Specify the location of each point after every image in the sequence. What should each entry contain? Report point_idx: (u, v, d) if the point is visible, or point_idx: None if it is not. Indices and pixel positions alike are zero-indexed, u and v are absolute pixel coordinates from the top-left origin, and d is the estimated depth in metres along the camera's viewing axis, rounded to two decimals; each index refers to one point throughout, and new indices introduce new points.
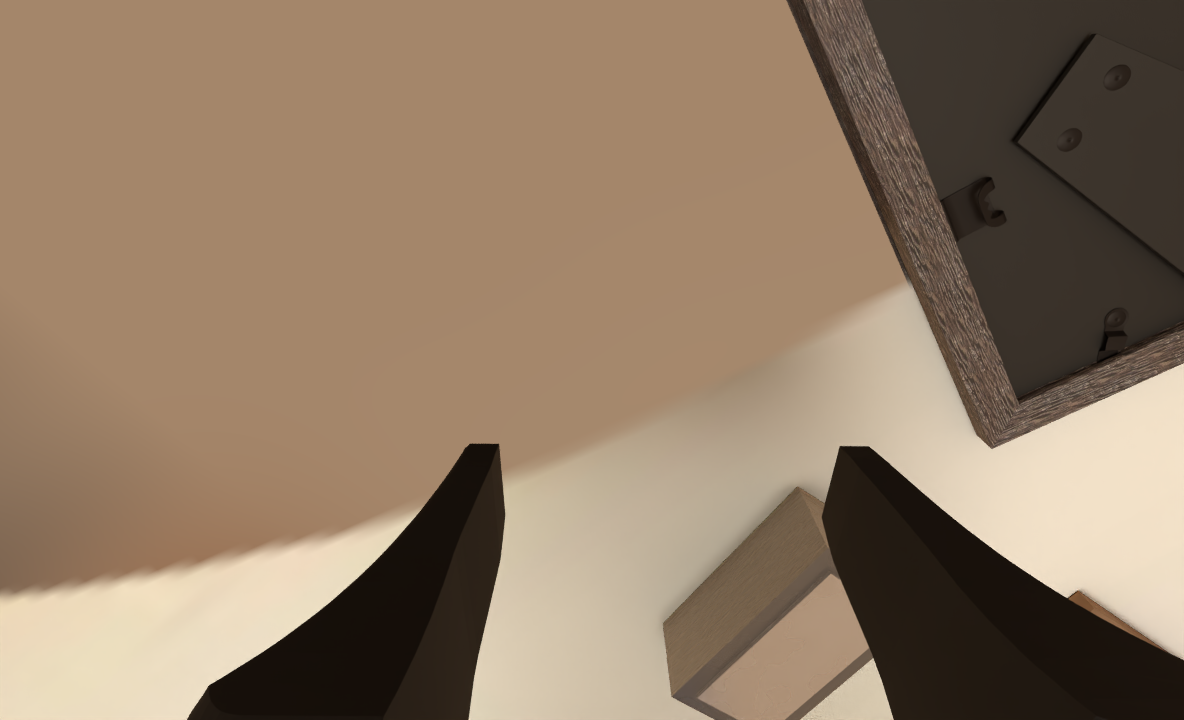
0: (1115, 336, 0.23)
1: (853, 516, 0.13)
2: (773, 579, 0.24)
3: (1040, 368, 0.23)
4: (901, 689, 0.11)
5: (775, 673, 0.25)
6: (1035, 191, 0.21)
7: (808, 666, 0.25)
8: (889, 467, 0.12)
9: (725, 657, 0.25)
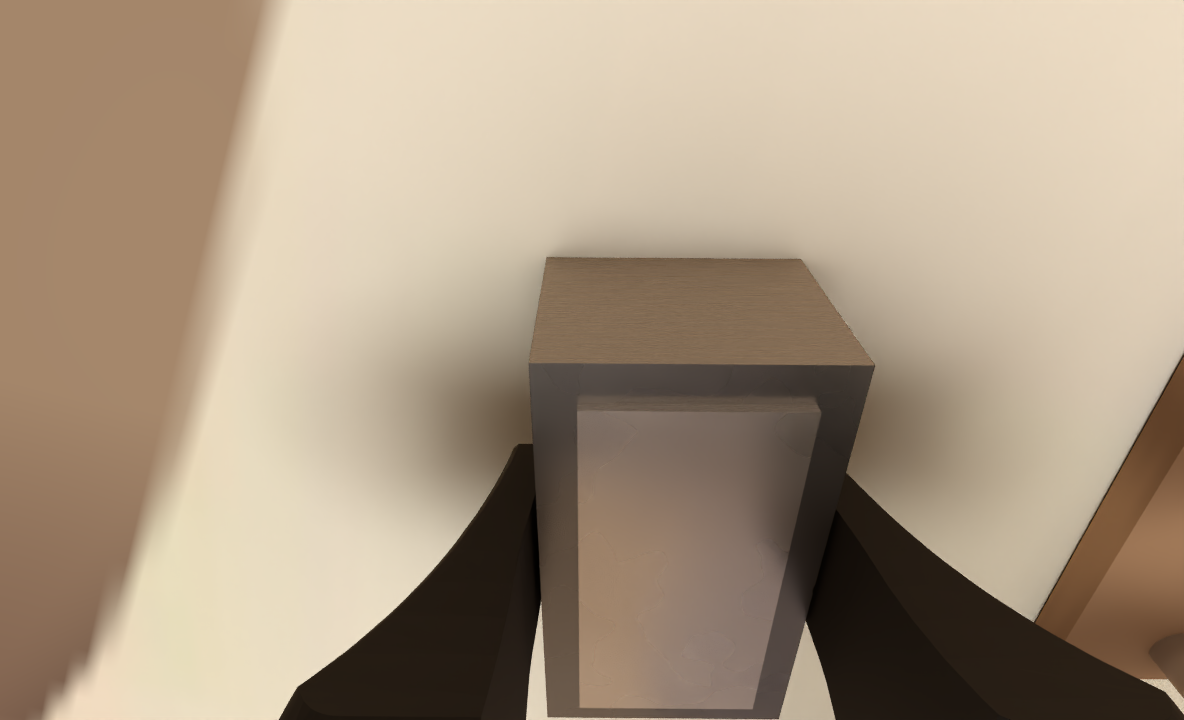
0: None
1: None
2: None
3: None
4: (841, 689, 0.11)
5: (665, 622, 0.12)
6: None
7: (714, 586, 0.12)
8: None
9: (563, 632, 0.13)
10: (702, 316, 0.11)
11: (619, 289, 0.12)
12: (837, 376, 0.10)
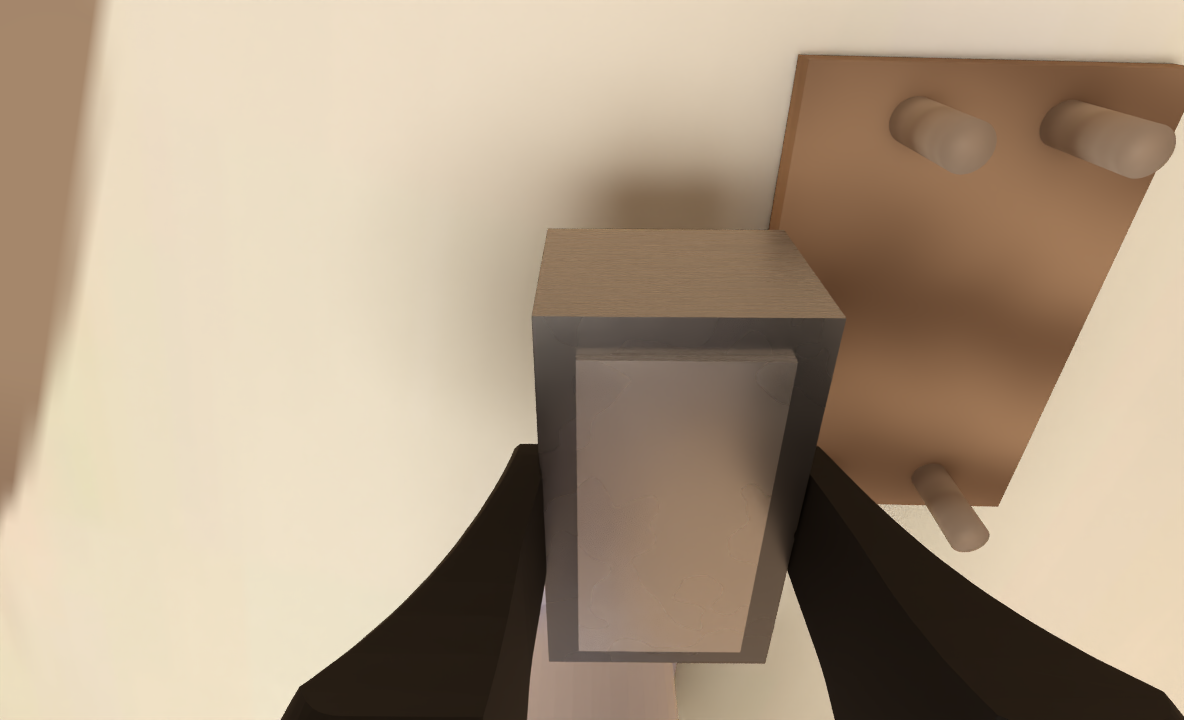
0: None
1: (800, 516, 0.13)
2: None
3: None
4: (840, 689, 0.11)
5: (658, 565, 0.13)
6: None
7: (702, 530, 0.12)
8: (835, 467, 0.12)
9: (563, 576, 0.13)
10: (690, 278, 0.12)
11: (614, 255, 0.12)
12: (812, 328, 0.10)
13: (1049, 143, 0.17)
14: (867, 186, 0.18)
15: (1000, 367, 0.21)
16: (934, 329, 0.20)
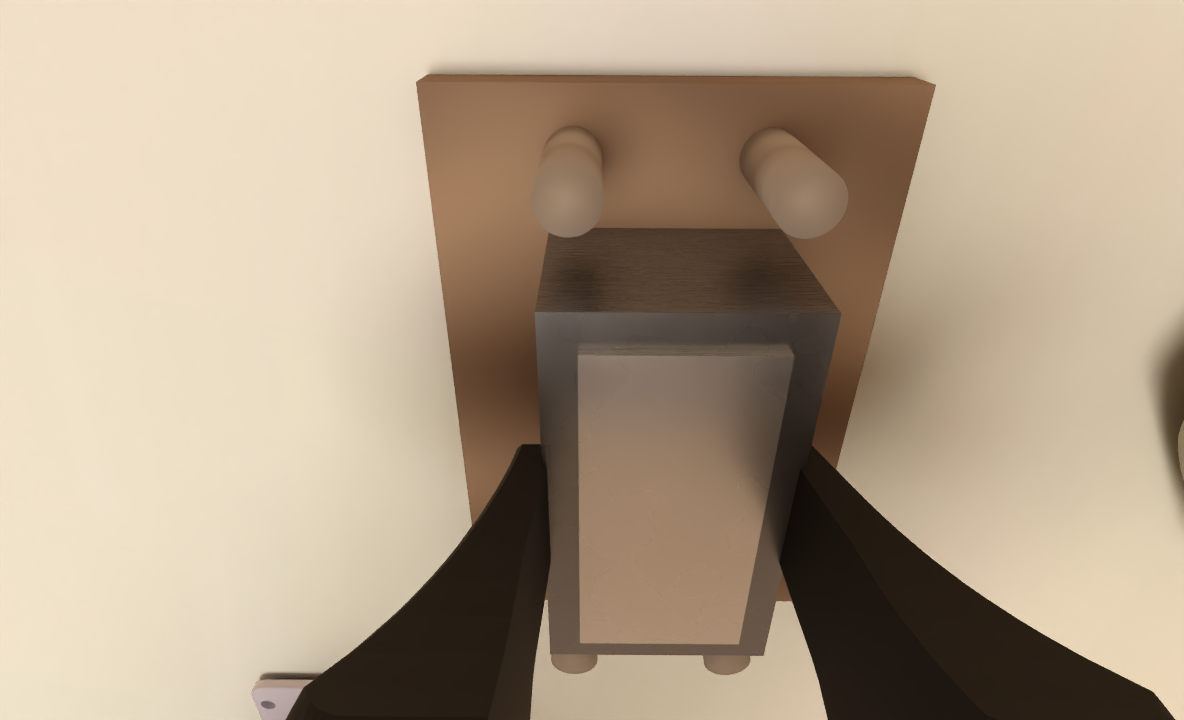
0: None
1: (794, 516, 0.13)
2: None
3: None
4: (833, 689, 0.11)
5: (658, 557, 0.13)
6: None
7: (701, 522, 0.13)
8: (828, 467, 0.12)
9: (565, 569, 0.14)
10: (690, 275, 0.12)
11: (615, 254, 0.13)
12: (808, 324, 0.11)
13: None
14: (538, 239, 0.14)
15: None
16: None
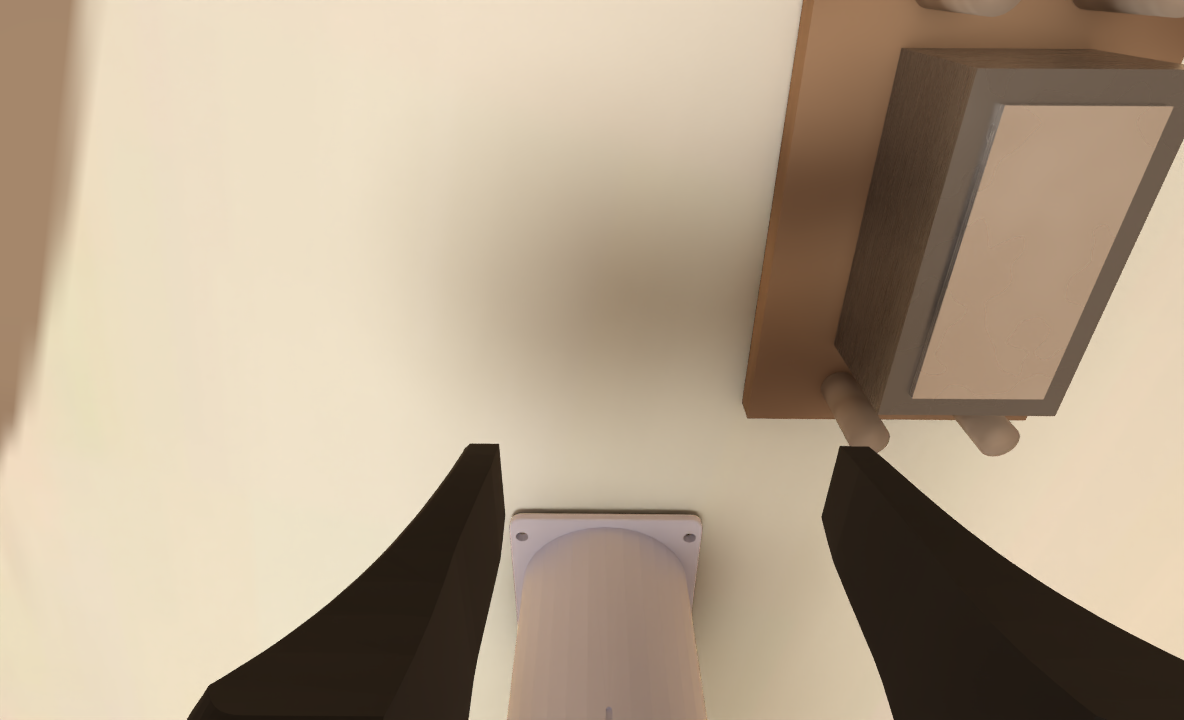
0: None
1: (853, 516, 0.13)
2: (927, 180, 0.16)
3: None
4: (901, 689, 0.11)
5: (1005, 307, 0.16)
6: None
7: (1051, 271, 0.16)
8: (889, 467, 0.12)
9: (918, 324, 0.17)
10: (1063, 60, 0.15)
11: (982, 54, 0.16)
12: None
13: (1081, 3, 0.16)
14: (889, 58, 0.17)
15: None
16: None
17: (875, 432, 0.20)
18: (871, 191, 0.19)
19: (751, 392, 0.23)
